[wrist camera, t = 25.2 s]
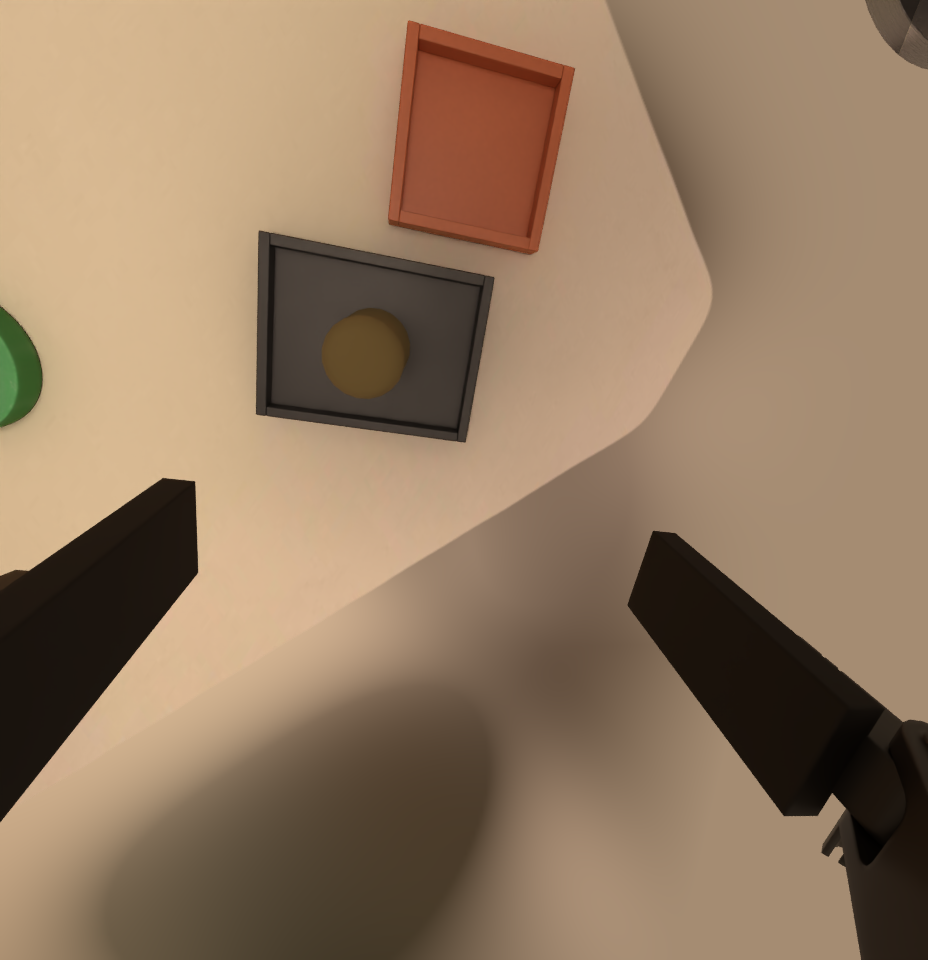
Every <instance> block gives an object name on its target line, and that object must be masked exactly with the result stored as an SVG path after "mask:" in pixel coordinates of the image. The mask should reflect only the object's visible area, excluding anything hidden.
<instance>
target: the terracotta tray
mask: <svg viewBox="0 0 928 960" xmlns="http://www.w3.org/2000/svg"><path fill="white" fill-rule="evenodd" d="M574 71H575V68H572V67H569V66H566V65H562V64H558V63H555V62H551V61H548V60H544V59H541V58H537V57H534V56H530V55H527V54H523V53H520V52H517V51H513V50H510V49H506V48H503V47H499V46H496V45H492V44H489V43H485V42H482V41H479V40H475V39H472V38H468V37H465V36H461V35H458V34H454V33H451V32H447V31H444V30H440V29H437V28H434V27H430V26H427V25H423V24H419V23H416V22H413V21H408V24H407V35H406V45H405V55H404V65H403V75H402V85H401V95H400V105H399V115H398V125H397V135H396V145H395V155H394V165H393V175H392V185H391V195H390V205H389V215H388V220H389V224H390V225H394V226H399V227H404V228H408V229H413V230H418V231H423V232H427V233H432V234H437V235H442V236H446V237H451V238H456V239H461V240H465V241H470V242H475V243H480V244H484V245H489V246H494V247H498V248H503V249H508V250H513V251H517V252H522V253H527V254H533V253H535V252H537V251H538V248H539V243H540V238H541V234H542V229H543V224H544V219H545V214H546V209H547V204H548V199H549V194H550V189H551V184H552V179H553V174H554V169H555V164H556V160H557V155H558V150H559V145H560V140H561V135H562V130H563V125H564V120H565V115H566V110H567V105H568V100H569V95H570V91H571V86H572V81H573V76H574Z"/></svg>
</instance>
